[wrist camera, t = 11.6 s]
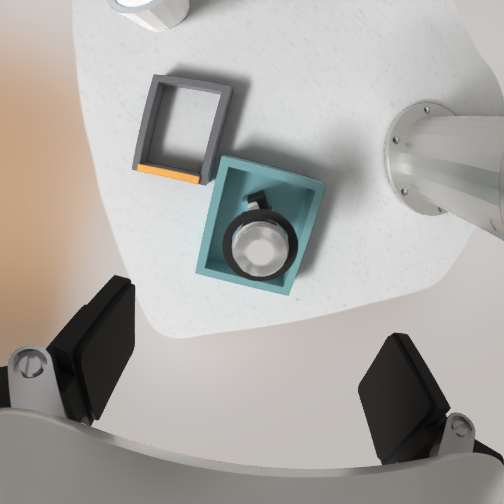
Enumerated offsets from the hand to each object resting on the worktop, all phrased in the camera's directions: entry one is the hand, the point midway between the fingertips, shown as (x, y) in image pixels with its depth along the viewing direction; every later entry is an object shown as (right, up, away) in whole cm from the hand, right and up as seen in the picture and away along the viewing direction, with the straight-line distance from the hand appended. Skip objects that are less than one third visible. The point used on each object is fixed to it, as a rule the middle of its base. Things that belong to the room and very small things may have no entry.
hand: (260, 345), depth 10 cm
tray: (0, +6, +20) cm, 21 cm away
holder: (-7, +15, +16) cm, 23 cm away
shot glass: (-9, +28, +12) cm, 32 cm away
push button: (+1, +6, +20) cm, 21 cm away
